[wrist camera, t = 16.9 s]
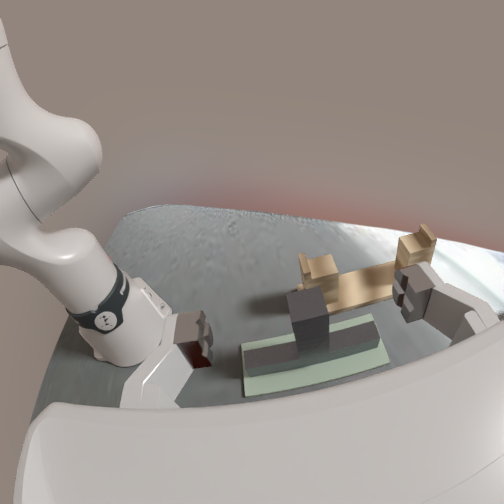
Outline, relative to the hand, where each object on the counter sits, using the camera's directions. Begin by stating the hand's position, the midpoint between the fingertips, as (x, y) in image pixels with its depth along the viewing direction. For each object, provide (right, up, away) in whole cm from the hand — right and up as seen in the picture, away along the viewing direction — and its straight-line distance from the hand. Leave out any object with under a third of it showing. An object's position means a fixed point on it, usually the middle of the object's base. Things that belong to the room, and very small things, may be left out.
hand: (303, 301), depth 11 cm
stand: (+18, -4, +34) cm, 39 cm away
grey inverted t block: (+7, -13, +27) cm, 31 cm away
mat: (+7, -13, +28) cm, 31 cm away
